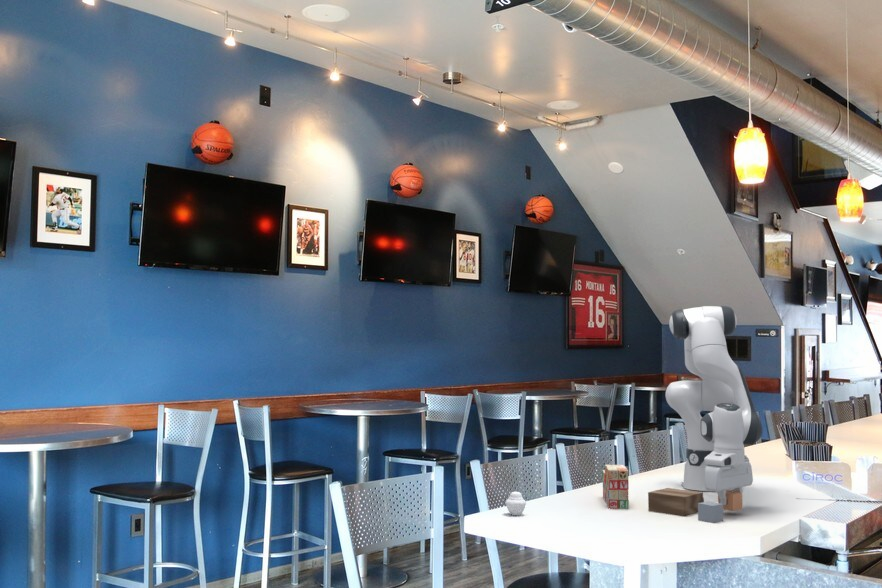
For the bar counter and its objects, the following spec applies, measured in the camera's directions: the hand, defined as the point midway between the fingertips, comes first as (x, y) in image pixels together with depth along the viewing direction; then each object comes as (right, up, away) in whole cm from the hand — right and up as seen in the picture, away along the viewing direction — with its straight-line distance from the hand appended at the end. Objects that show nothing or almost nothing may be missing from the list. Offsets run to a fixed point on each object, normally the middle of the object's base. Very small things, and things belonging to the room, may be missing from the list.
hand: (730, 503), depth 241 cm
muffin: (-65, -3, -3) cm, 66 cm away
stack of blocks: (-31, -5, +18) cm, 36 cm away
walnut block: (-15, -4, +4) cm, 16 cm away
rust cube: (0, -2, 0) cm, 2 cm away
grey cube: (-9, -3, -10) cm, 14 cm away
